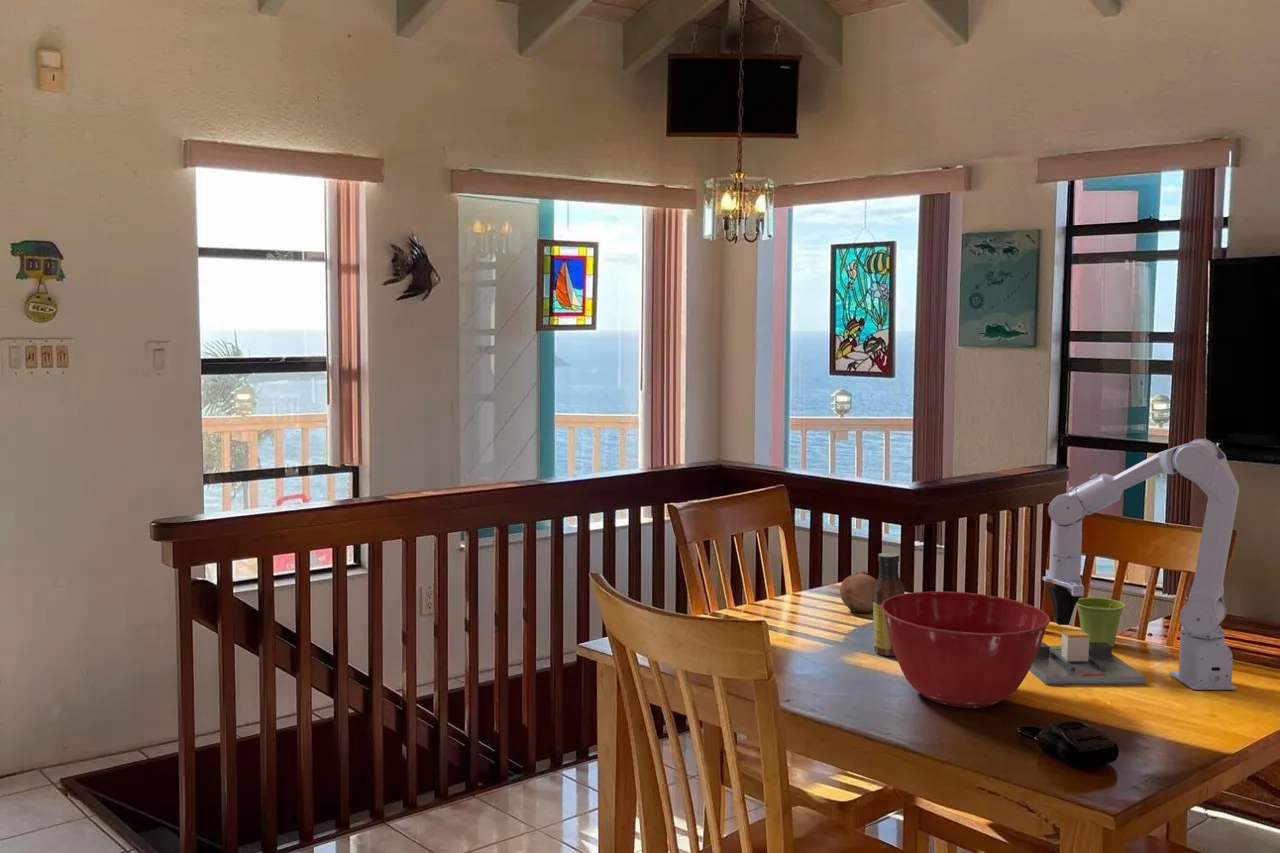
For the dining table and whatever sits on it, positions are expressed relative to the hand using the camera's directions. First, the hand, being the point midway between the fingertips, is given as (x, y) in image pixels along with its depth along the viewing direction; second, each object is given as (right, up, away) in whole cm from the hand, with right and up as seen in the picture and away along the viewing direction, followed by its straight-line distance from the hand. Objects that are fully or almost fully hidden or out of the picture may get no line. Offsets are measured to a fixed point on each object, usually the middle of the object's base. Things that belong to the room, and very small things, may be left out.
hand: (1062, 624), depth 227 cm
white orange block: (0, -6, -6) cm, 8 cm away
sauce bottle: (-33, -7, +4) cm, 34 cm away
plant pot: (+11, -6, +10) cm, 16 cm away
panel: (0, -7, -6) cm, 9 cm away
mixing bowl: (-26, -9, -22) cm, 35 cm away
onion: (-32, -4, +37) cm, 49 cm away
